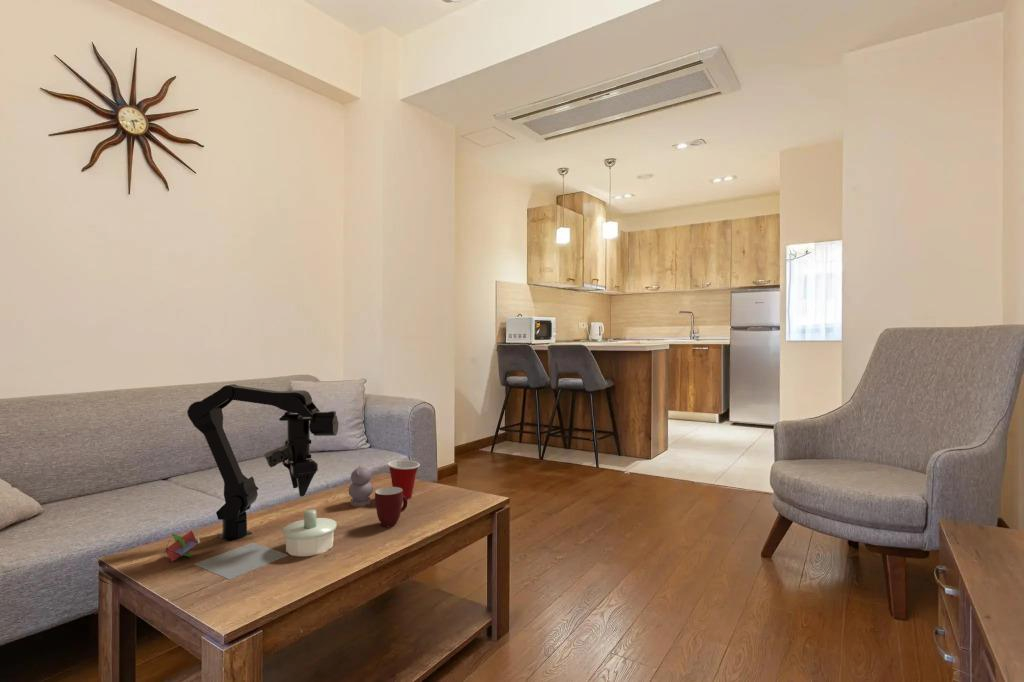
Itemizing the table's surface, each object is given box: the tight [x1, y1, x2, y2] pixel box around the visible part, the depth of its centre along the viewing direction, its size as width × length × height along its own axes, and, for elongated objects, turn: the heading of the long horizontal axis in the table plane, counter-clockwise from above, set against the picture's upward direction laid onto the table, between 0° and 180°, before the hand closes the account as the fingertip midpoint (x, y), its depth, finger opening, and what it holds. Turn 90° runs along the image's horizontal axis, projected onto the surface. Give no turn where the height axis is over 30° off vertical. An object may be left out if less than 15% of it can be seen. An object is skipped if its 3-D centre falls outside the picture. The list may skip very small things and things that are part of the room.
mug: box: [374, 486, 408, 528], centre depth 150 cm, size 11×8×10 cm
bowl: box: [285, 530, 335, 557], centre depth 132 cm, size 11×11×5 cm
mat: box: [193, 542, 289, 580], centre depth 124 cm, size 15×15×1 cm
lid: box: [282, 508, 338, 540], centre depth 132 cm, size 13×13×5 cm
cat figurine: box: [348, 464, 374, 507], centre depth 168 cm, size 8×8×12 cm
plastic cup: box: [387, 459, 421, 500], centre depth 174 cm, size 11×11×12 cm
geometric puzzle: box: [164, 530, 201, 562], centre depth 125 cm, size 7×7×8 cm
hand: (298, 491), depth 141 cm, fingers open, 9 cm apart
